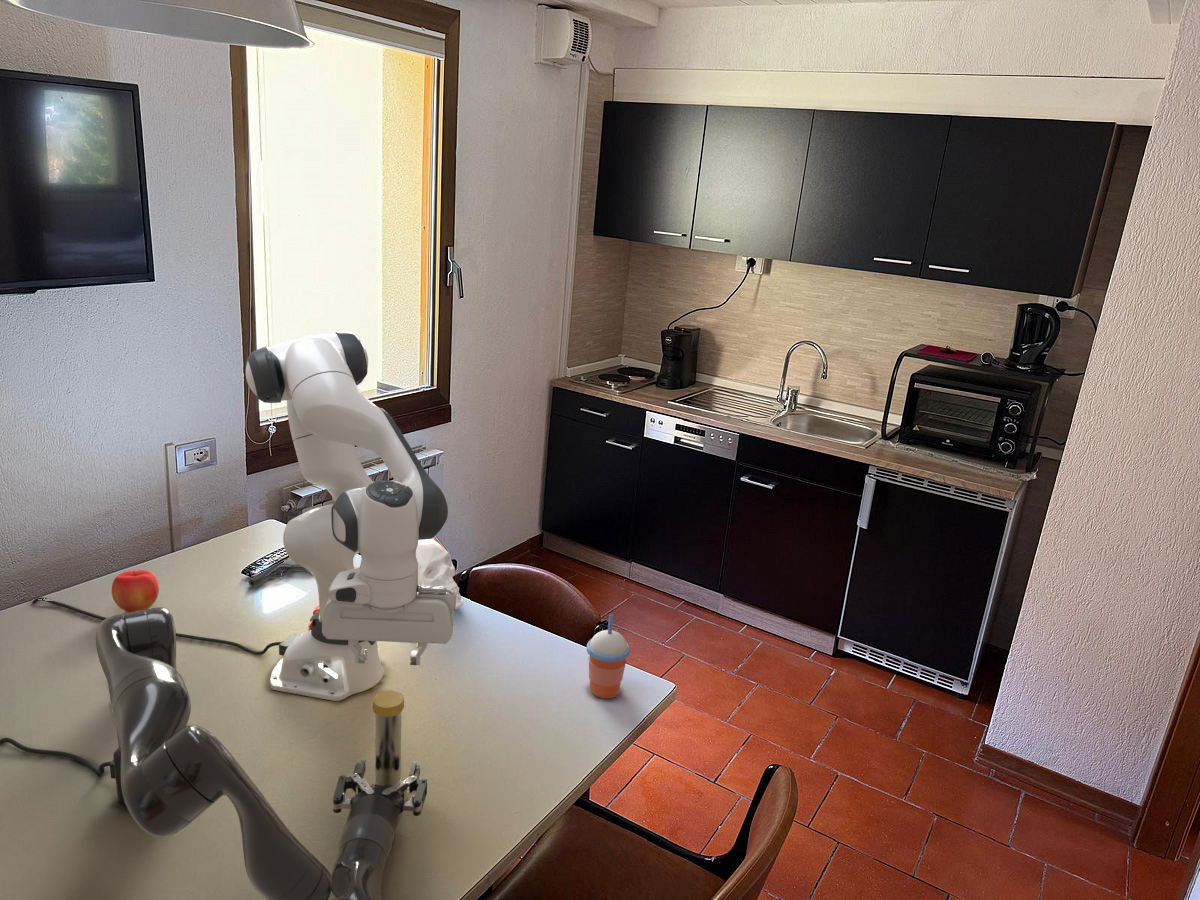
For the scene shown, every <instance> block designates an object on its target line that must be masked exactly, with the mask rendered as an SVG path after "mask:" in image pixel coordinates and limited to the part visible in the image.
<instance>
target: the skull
mask: <svg viewBox="0 0 1200 900" xmlns="http://www.w3.org/2000/svg"><path fill="white" fill-rule="evenodd" d="M416 559H417V562H418V586H430V587H445V588H447V590H450V591H452V592H453V593H454V595H455V597H456V607H455V610H458V609H460V608H463V606H464V602H465V601H464V600H463V599H462V596H461V594H460V587H459V586H458V584H457V583H456V581H455V580H454V577H455V576H456V574H457V572H456V568H455V566H454V564H453V561H452V559H451V554H450V552H449V551H447V550H446V549H445V548H444V547H443V545H441V544H440V543H439V542H437V541H436V540H434V539H433V538H432V539H426V540H419V541H418V546H417V549H416ZM446 593H448V592H446Z"/></svg>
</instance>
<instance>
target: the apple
mask: <svg viewBox="0 0 1200 900" xmlns="http://www.w3.org/2000/svg"><path fill="white" fill-rule="evenodd" d="M159 593H160V584H159V581H158V579H157V577H156V575H155V574H154V573H153V572H151V571H150V570H149V569H130V570H126V571H123V572H121V573H120V574H118V575H116V576H115V578H114V579H113V581H112V584H111V596H112V600H113V602H114V603H115V605H116V606H117V607H118V608H120V609H121V610H123V611H124V612H125V613H129V612H135V611H140V610H146V609H151V608H152V606H153V605H154V604H155V602H156V601H157V599H158V597H159Z"/></svg>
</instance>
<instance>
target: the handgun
mask: <svg viewBox="0 0 1200 900" xmlns="http://www.w3.org/2000/svg"><path fill="white" fill-rule="evenodd" d="M292 571H294V572H295V571H296V572H307V573H311V572H310V571H309V570H307V569H306V568H304V567H302V566H300V565H298V564H296V563H295V562H294V561H293V560H292V559H291V558H288V559H287V560H284V562H283V563H281V564H277V565H275V566H273V567H272V568H270V569H268V570H266V571H263V572H261V571H260V572H261V573H259V572H258V573H259V574H258V573H256V574H255V575H254V576H253V577H251V579H249V580H248V586H249V587H251V588H258V587H260V586H262V585H263V584H264V583H265V582H267V581H268V580H270V579H272V578H273V579H282V578H285V577H286V576H287V575H289V573H290V572H292ZM284 572H285V573H284ZM277 574H279V575H277Z"/></svg>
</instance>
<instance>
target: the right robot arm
mask: <svg viewBox="0 0 1200 900" xmlns="http://www.w3.org/2000/svg"><path fill="white" fill-rule="evenodd" d="M368 368H369V356H368V352H367V349H366V348H365V345H364V344H363V342H362V341H361V339H360V337H359V336H358V335H357V334H355V333H354V332H351V331H350V332H349V331H336V332H335V333H330V334H327V333H326V334H317V335H308V336H302V337H301V338H299V339H293V340H289V341H285V342H281V343H278V344H275V345H272V346H269V347H267V346H263V347H260V348H257V349H256V350H254V351H252V352H250V354H249V355H248V357H247V358H246V365H245V378H246V382H247V385H248V387H249V389H250V390H251V392H252V393H253V394H254V395H255V397H256V398H257V400H259V401H261V402H263V403H265V404H279V403H282V402H283V401H286V410H287V419H288V425H289V430H290V435H291V439H292V443H293V446H294V450H295V454H296V457H297V461H298V462H297V463H298V465H299V468H300V473H301V475H302V477H303V478H304V480H306V481H307V482H308V483H310V484H312V485H315V486H318V487H322V488H324V489H325V490H326V491H327V492H328V493H329V494H330V495H331V497H332V499H333V501H334V503H330V504H327V505H323V506H319V507H314V508H311V509H309V510H307V511H304V512H303V513H301V514H299V515H297V516H295V517H293V518H292V519H290V520H289V521H288V522H287V524H285V528H284V531H283V535H282V542H283V547H284V549H285V550H284V551H285V553H286V555H288V556H289V557H290V558H291V559H292V560H293V561H294V562H295V563H296V564H298V565H300V566H302V567H304V568H306V569H307V570H309V571H310V572H309V573H311V575H312V576H313V578H314V580H315V583H316V587H317V593H318V594H317V595H318V605H316V607H314V610H313V611H312V615H311V617H310V619H309V623H308V625H307V628H308V629H307V630H306V631H304V632H302V633H301V634H299V633H295V632H294V633H292V634H291V635H289V636H288V637H287V638H286V639H284V640H283V641H274V642H271V643H268V644H267V645H266V646H265V647H264V649H263V650H260V651H258V650H257V651H256V650H253V649H250V648H248V647H246V646H244V645H242V644H239V643H237V642H235V641H231V640H224V639H219V638H211V637H205V636H198V635H191V634H184V633H179V632H176V638H183V639H190V640H197V641H203V642H210V643H217V644H224V645H229V646H231V647H232V646H233V647H236V648H238V649H241V650H243V651H245V652H247V653H249V654H252V655H256V656H260V655H264V654H266V653H267V651H268V650H269V649H270V648H272V647H276V646H278V655H279V656H282V657H281V659H280V660H279V661H278V662H277V663H276V664H275V666H274V667H273V669H272V670H271V673H270V676H269V686H270V688H271V689H272V690H274V691H278V692H283V693H289V694H295V695H300V696H304V697H305V696H306V697H310V698H315V699H316V698H317V699H322V700H327V701H334V702H339V701H340V702H341V701H342V700H344V699H346V698H348V697H350V696H351V695H355V694H358V693H363V692H364V691H367V690H369V689H371V688H373V687H374V686H377V685H378V684H379V682H380V681H382V680H383V677H384V668H383V666H382V662H381V658H380V654H379V649H378V642H388V643H410V644H411V643H412V644H417V648H418V649H417V650H412V651H411V654H410V658H409V661H410V663H409V665H410V666H421V662H422V661H421V660H422V655H423V654H424V653H425V651H426V650H427V648H428V645H429V644H436V645H446V644H448V643H449V642H450V641H451V640H452V638H453V635H454V616H453V612H455V611H456V609H455V607H456V597H455V595H454V593H453V592H452V591H450V590H447V588H445V587H430V586H418V562H417V559H416V549H417V546H418V541H419V540H426V539H432V540H433V538H434V537H436V536H437V535H438V533H440V531H441V530H442V529H443V528H444V526H445V523H446V522H447V520H448V515H449V507H448V503H447V502H448V501H447V499H446V496H445V495H444V492H443V491H442V489H441V488H440V487H439V485H438V484H437V483H436V481H434V480H433V478H431V476H430V475H429V474H428V473H427V471H426V469H425V468H424V466H423V465H422V463H421V462H420V460H419V458H418V456H417V455H416V453H415V452H414V450H413V449H412V447H411V445H410V444H409V442H408V441H407V439H406V437H405V435H404V434H403V433H402V430H401V429H400V428H399V426H398V425H397V423H396V421H394V419H393V418H392V416H391V415H390V413H389V412H387V410H386V409H384V408H382V407H380V406H377V405H376V404H374V403H373V402H372V401H371V400H370V399H368V397H366V396H365V394H364V393H363V392H362V391H361V390H360V389H359V387H358V385H361V384H362V383H363V381H364V380H365V378H366V377H367V375H368ZM356 446H357V447H360V448H364V449H367V450H368V451H371V452H373V453H375V454H376V455H377V456H379V458H381V460H382V461H383V463H384V465H385V466H386V468H387V470H388V472H389V473H390V474H391V477H392V478H393V480H390V479H389V480H388V479H387V480H378V481H373V480H372V479H371V477H370V476H369V475H368V473H367V472H366V470H365V468H364V467H363V465H362V462H361V460H360V457H359V454H358V451H357V448H356ZM358 554H360V557H361V560H360V565H359V566H355V565H354V558H355V557H356V555H358ZM446 592H448V593H446ZM44 598H45V599H48V598H47V597H41V596H40V597H36V598H35V599H33V600H32V603H33V604H35V603H38V602H39V601H43V602H46V603H49V604H52V605H55V606H58V607H63V608H66V609H68V610H70V611H73V612H76V613H79V614H82V615H85V616H88V617H91V618H93V619H97V620H100V621H103V620H105V619H107V618H108V617H105V616H101V615H98V614H95V613H92V612H89V611H86V610H83V609H80V608H77V607H74V606H72V605H70V604H66V603H64V602H59V601H57V600H56V601H55V600H53V601H45V600H43V599H44ZM38 599H42V600H38Z"/></svg>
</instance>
